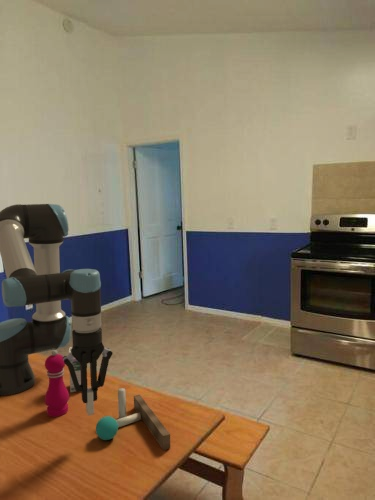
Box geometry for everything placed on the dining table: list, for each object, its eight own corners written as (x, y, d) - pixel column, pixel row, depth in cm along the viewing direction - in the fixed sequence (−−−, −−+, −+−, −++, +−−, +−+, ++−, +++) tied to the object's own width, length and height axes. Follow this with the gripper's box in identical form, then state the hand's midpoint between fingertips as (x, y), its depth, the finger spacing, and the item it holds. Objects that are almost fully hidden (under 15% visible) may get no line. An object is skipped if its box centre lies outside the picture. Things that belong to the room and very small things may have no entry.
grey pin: (117, 417, 118) (117, 389, 117) (124, 415, 119) (124, 387, 118) (120, 420, 116) (119, 392, 115) (127, 418, 117) (126, 390, 116)
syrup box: (70, 392, 133) (68, 352, 132) (71, 385, 139) (69, 346, 137) (87, 390, 135) (85, 350, 133) (87, 383, 140) (85, 344, 139)
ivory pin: (113, 428, 110) (141, 419, 115) (111, 420, 111) (139, 411, 116) (111, 430, 112) (139, 420, 117) (109, 422, 113) (137, 413, 118)
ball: (94, 414, 109) (116, 410, 110) (96, 433, 109) (117, 429, 111) (95, 426, 103) (118, 421, 104) (97, 446, 104) (119, 442, 105)
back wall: (134, 407, 123) (133, 396, 123) (140, 406, 124) (139, 394, 123) (163, 450, 102) (163, 436, 101) (170, 448, 103) (170, 434, 102)
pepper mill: (62, 419, 117) (59, 355, 115) (40, 416, 119) (37, 353, 116) (73, 406, 124) (71, 346, 122) (53, 404, 126) (50, 345, 123)
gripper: (63, 337, 95) (67, 426, 99) (115, 329, 101) (117, 413, 104) (59, 327, 102) (62, 411, 105) (107, 320, 108) (110, 400, 111)
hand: (90, 412), depth 105 cm, fingers closed
